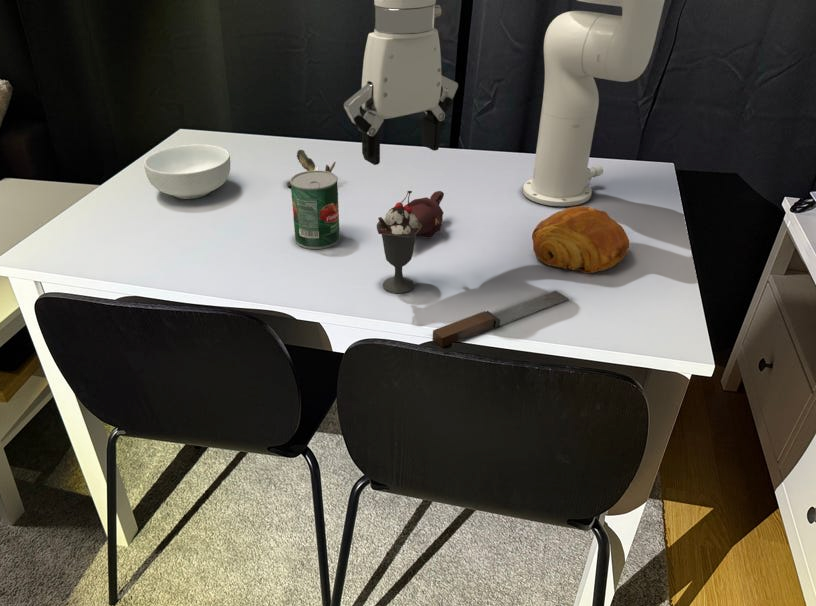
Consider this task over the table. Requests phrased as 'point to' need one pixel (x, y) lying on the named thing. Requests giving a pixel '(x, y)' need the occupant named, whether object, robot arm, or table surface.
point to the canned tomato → (315, 209)
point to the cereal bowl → (188, 170)
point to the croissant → (580, 240)
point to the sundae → (399, 243)
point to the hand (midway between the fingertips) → (401, 154)
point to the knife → (493, 319)
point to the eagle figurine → (309, 163)
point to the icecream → (428, 214)
